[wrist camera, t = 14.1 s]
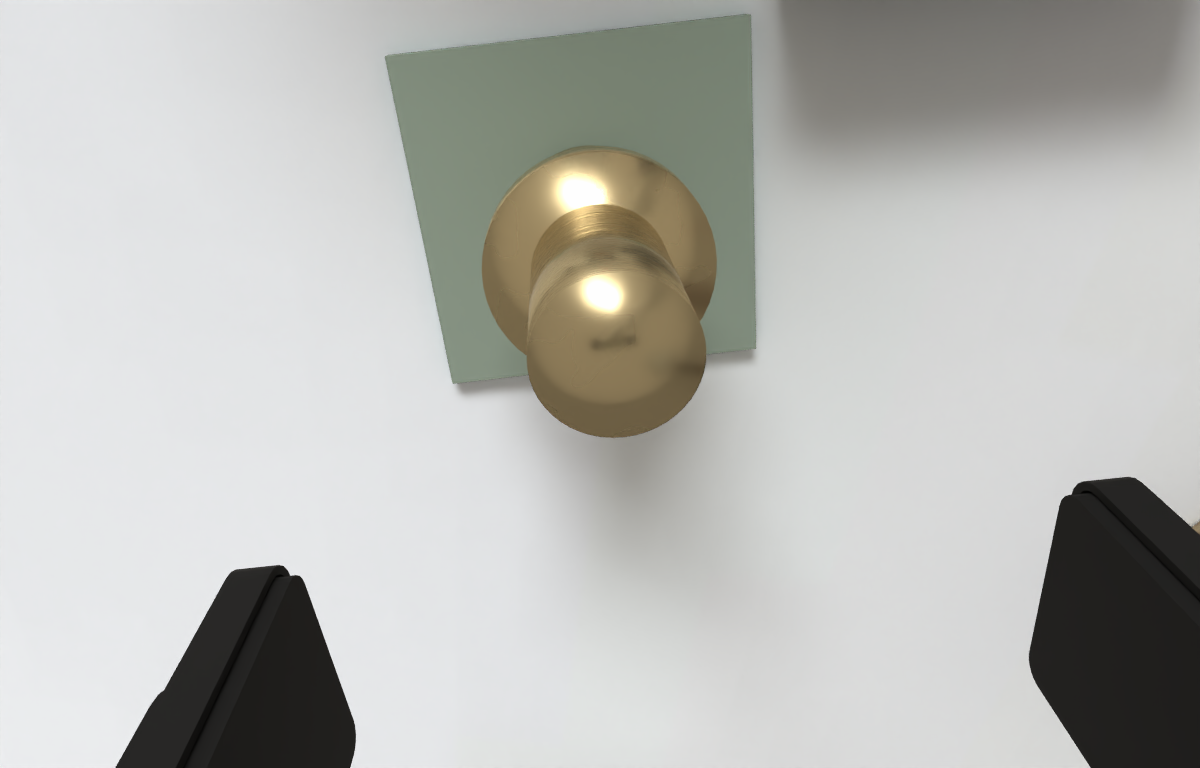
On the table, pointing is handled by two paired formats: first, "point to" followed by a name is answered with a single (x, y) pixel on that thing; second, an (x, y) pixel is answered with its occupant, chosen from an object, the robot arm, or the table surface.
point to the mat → (570, 119)
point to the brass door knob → (603, 287)
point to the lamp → (1197, 528)
